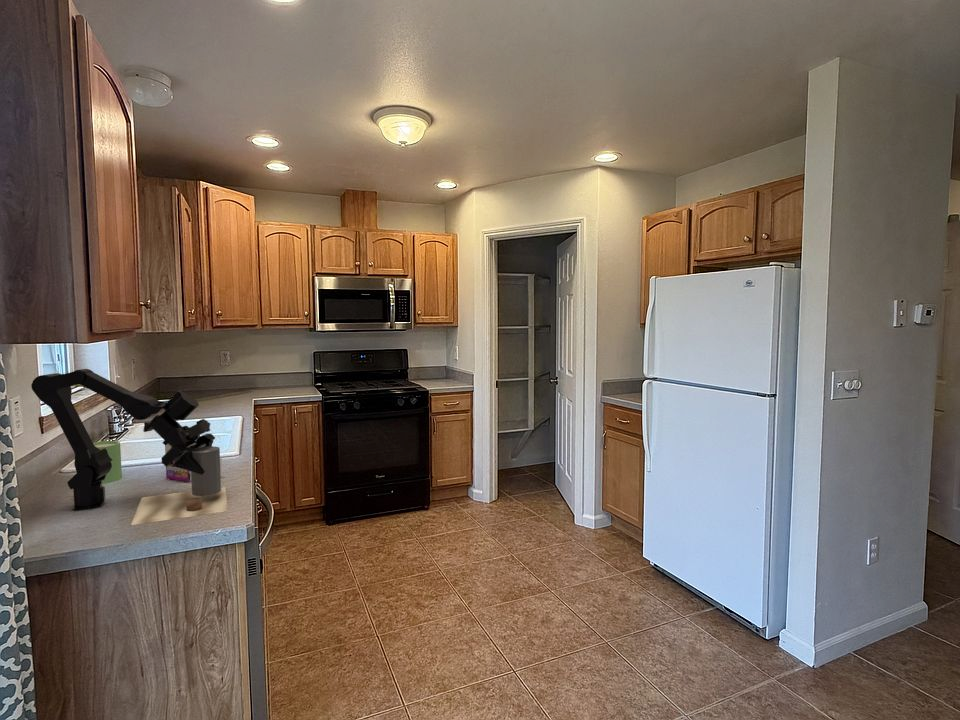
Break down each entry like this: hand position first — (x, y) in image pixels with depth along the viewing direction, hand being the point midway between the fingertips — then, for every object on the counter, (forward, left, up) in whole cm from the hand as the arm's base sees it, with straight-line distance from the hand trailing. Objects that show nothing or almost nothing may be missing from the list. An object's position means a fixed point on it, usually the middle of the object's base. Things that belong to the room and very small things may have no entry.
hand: (210, 469), depth 153 cm
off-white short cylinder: (0, +25, -10) cm, 27 cm away
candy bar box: (-8, +30, -10) cm, 32 cm away
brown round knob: (-4, -7, -9) cm, 12 cm away
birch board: (-7, -1, -10) cm, 12 cm away
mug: (-33, +41, -10) cm, 53 cm away
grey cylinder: (-1, +1, -7) cm, 7 cm away
